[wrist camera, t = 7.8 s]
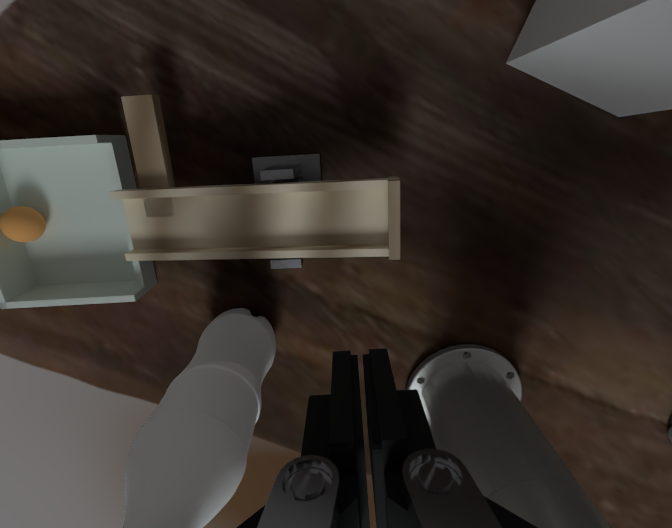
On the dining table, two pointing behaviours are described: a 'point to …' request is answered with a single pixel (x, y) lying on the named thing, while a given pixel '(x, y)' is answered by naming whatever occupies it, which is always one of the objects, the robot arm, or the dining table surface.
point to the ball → (22, 224)
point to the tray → (69, 223)
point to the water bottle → (201, 428)
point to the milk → (601, 52)
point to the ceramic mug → (670, 433)
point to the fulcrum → (291, 171)
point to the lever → (248, 209)
